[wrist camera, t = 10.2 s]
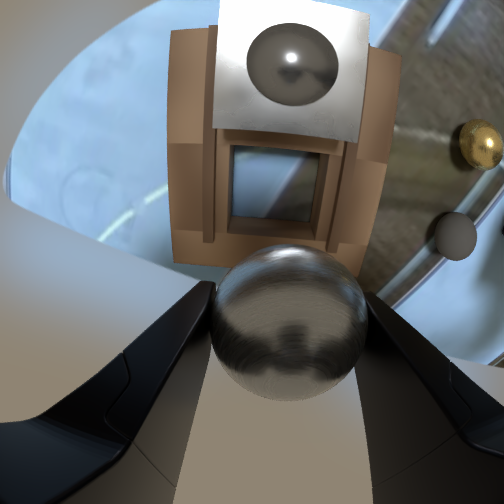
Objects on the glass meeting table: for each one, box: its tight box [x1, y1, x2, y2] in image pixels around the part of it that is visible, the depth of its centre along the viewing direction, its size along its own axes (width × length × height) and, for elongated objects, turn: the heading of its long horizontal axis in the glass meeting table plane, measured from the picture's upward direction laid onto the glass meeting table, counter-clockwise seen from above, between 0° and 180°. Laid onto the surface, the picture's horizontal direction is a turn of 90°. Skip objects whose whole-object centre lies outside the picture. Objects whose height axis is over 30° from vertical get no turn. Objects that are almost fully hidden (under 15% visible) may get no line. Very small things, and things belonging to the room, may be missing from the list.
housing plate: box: [167, 25, 402, 277], centre depth 15 cm, size 12×14×3 cm
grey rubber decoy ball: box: [434, 212, 477, 261], centre depth 17 cm, size 4×4×4 cm
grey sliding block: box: [212, 0, 370, 143], centre depth 10 cm, size 6×6×3 cm
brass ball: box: [459, 119, 504, 170], centre depth 13 cm, size 4×4×4 cm
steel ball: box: [209, 244, 368, 401], centre depth 7 cm, size 4×4×4 cm
